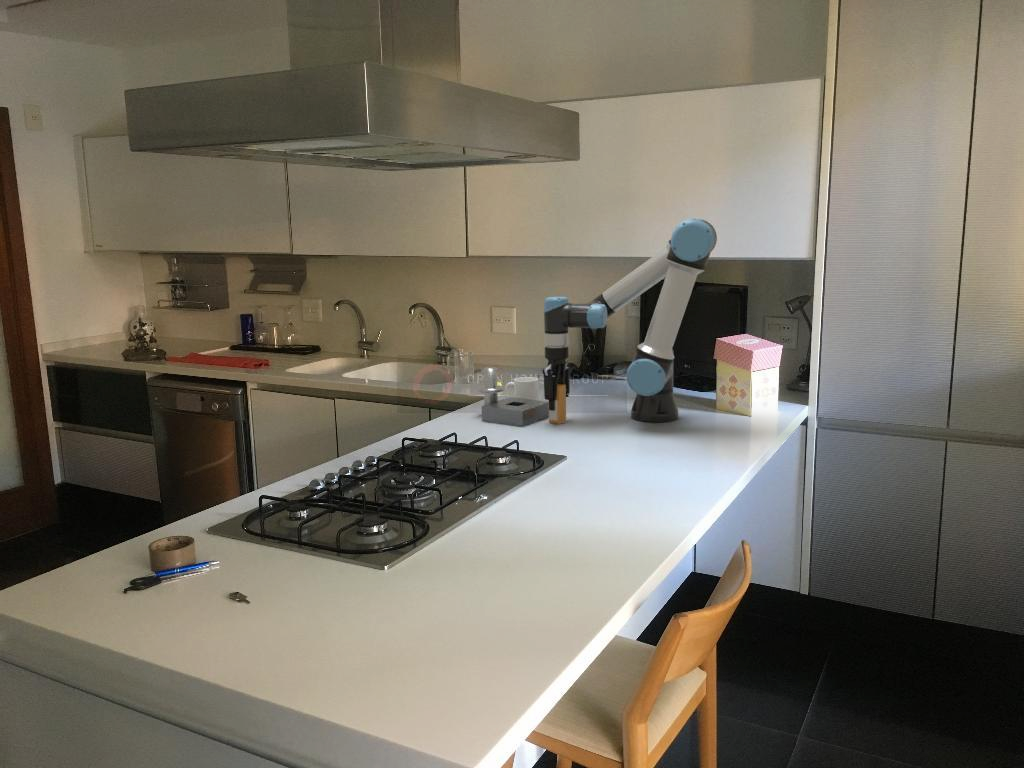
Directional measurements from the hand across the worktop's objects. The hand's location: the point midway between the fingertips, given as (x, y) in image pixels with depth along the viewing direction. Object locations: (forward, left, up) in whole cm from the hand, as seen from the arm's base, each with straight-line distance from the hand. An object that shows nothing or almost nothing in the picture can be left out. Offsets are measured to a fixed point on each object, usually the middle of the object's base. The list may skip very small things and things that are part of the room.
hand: (557, 418), depth 267 cm
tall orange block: (0, 0, -1) cm, 1 cm away
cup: (+22, -12, -1) cm, 25 cm away
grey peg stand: (+17, +3, -1) cm, 17 cm away
